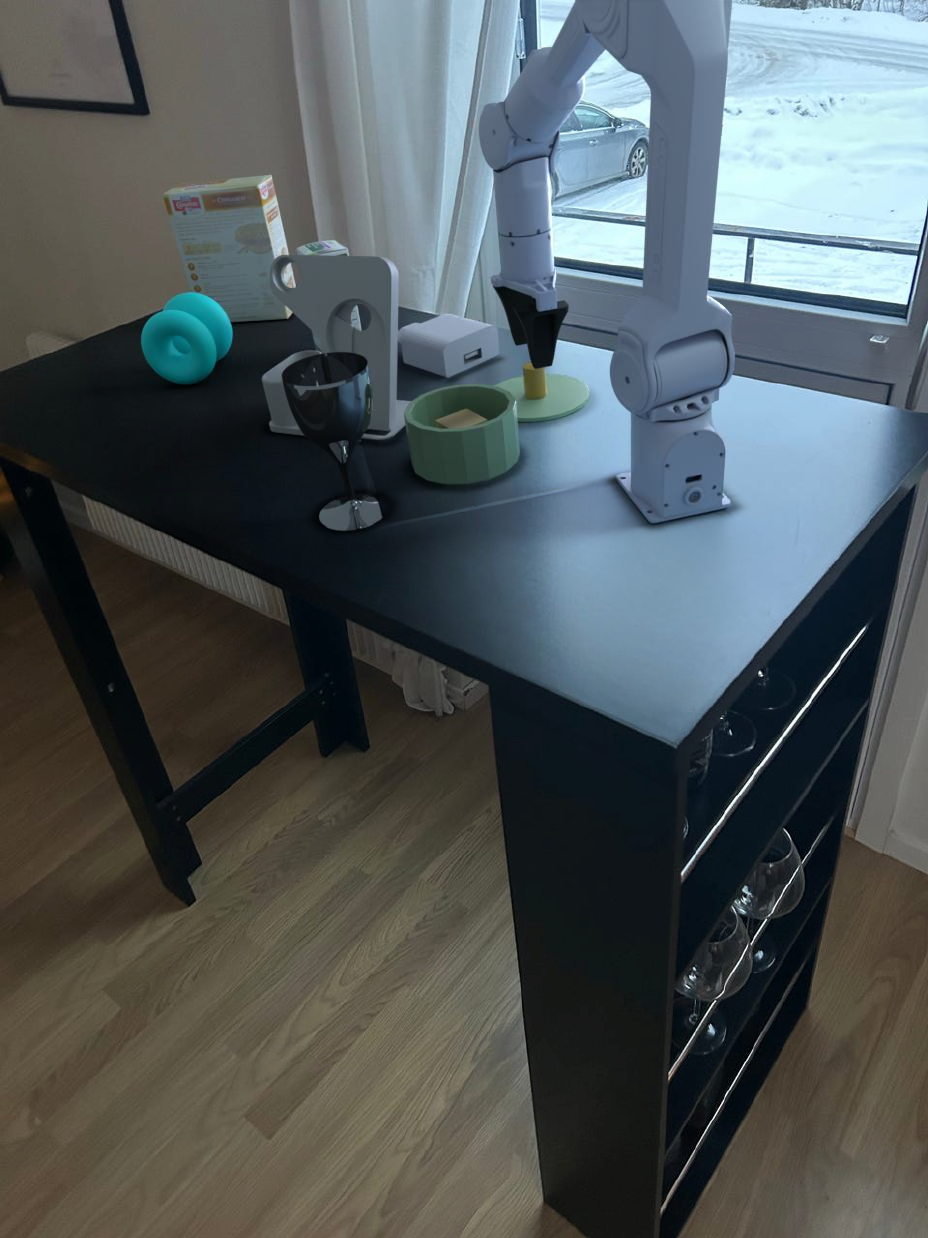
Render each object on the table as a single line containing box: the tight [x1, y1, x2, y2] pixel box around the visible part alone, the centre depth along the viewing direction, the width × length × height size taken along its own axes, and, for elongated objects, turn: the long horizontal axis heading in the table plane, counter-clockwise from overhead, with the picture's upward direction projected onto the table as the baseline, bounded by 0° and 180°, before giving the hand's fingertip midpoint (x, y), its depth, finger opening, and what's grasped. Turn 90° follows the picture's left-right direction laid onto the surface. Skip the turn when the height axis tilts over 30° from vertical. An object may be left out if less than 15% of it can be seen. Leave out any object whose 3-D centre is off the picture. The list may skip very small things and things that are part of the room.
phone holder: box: [261, 254, 413, 443], centre depth 105 cm, size 17×10×18 cm, turn 65°
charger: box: [398, 313, 500, 379], centre depth 122 cm, size 5×9×15 cm
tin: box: [404, 383, 521, 485], centre depth 96 cm, size 11×11×6 cm
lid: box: [494, 361, 590, 423], centre depth 107 cm, size 12×12×5 cm
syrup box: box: [296, 239, 363, 352], centre depth 124 cm, size 6×6×14 cm
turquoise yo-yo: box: [140, 291, 234, 386], centre depth 125 cm, size 10×10×10 cm
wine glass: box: [282, 352, 385, 532], centre depth 88 cm, size 8×8×15 cm
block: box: [435, 408, 488, 429], centre depth 97 cm, size 4×4×4 cm
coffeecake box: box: [162, 174, 297, 323], centre depth 141 cm, size 15×7×20 cm, turn 82°
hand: (532, 354), depth 105 cm, fingers open, 7 cm apart
